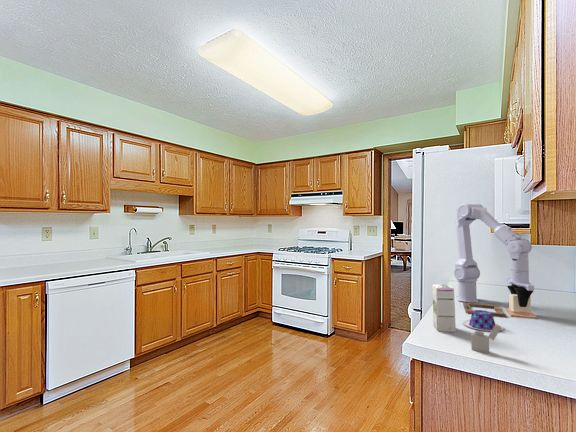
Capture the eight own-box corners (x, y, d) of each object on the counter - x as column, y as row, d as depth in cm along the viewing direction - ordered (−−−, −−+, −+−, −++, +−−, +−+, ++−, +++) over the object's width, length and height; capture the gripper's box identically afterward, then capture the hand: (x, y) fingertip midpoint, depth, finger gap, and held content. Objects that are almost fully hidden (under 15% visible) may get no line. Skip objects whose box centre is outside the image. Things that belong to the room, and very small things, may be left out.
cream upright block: (509, 309, 124) (509, 294, 124) (526, 309, 123) (525, 294, 123) (513, 311, 121) (513, 295, 121) (530, 312, 120) (530, 296, 120)
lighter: (471, 349, 89) (470, 321, 89) (472, 347, 90) (471, 319, 90) (501, 355, 85) (501, 325, 85) (501, 353, 86) (501, 324, 86)
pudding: (454, 323, 113) (454, 308, 113) (481, 320, 116) (481, 306, 116) (483, 334, 101) (483, 318, 101) (512, 331, 104) (512, 315, 104)
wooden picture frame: (463, 304, 136) (462, 300, 136) (498, 307, 131) (498, 303, 131) (466, 313, 124) (466, 309, 124) (505, 317, 118) (505, 312, 118)
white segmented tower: (456, 332, 103) (455, 287, 103) (436, 331, 104) (436, 287, 104) (451, 326, 108) (450, 284, 109) (432, 325, 110) (431, 283, 110)
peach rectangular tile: (505, 309, 128) (505, 308, 128) (529, 311, 125) (529, 310, 125) (511, 316, 119) (511, 314, 119) (537, 319, 116) (537, 317, 116)
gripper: (498, 267, 130) (499, 300, 130) (518, 273, 116) (519, 310, 115) (517, 267, 129) (518, 301, 129) (540, 273, 115) (541, 311, 114)
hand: (520, 305), depth 122 cm, fingers closed on cream upright block, 3 cm apart
